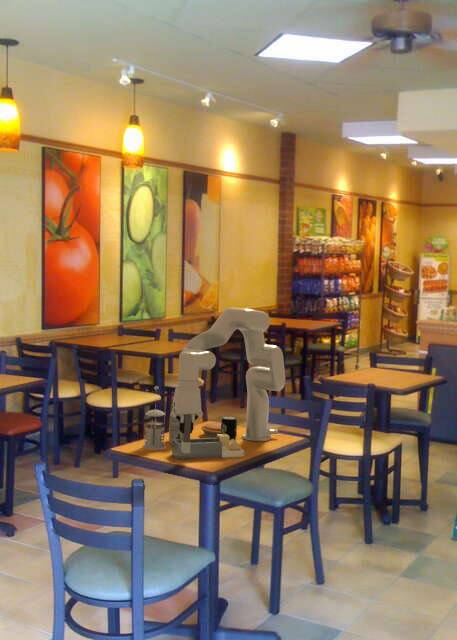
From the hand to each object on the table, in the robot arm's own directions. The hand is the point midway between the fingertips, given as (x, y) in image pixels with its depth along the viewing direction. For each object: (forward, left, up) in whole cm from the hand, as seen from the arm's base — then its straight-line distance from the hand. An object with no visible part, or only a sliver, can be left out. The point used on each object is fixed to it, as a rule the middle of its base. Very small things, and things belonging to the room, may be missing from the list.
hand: (186, 432), depth 292 cm
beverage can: (-25, -22, -12) cm, 35 cm away
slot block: (-7, -8, -11) cm, 16 cm away
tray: (-21, -9, -11) cm, 25 cm away
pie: (-27, -41, -12) cm, 51 cm away
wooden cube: (-21, -8, -7) cm, 23 cm away
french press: (+6, -25, -12) cm, 28 cm away
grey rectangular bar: (0, 0, -7) cm, 7 cm away
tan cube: (-17, -8, -7) cm, 20 cm away
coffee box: (-6, -33, -12) cm, 36 cm away
